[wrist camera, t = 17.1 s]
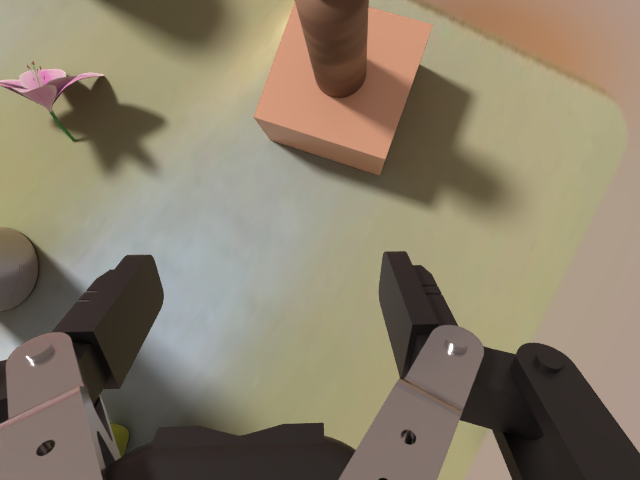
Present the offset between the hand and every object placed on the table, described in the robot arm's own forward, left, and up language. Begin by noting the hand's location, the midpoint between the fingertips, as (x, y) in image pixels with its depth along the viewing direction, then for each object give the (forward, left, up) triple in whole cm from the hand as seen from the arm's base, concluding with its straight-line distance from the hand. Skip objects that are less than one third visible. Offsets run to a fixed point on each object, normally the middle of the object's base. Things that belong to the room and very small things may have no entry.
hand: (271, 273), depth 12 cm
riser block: (-4, +16, -23) cm, 28 cm away
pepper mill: (-4, +16, -17) cm, 23 cm away
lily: (-32, +7, -23) cm, 40 cm away
